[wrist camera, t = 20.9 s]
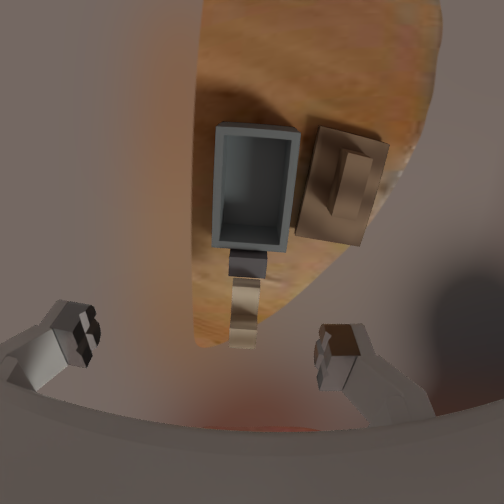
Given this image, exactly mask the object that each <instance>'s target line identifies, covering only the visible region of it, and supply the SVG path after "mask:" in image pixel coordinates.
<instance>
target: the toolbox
mask: <svg viewBox="0 0 504 504" xmlns="http://www.w3.org/2000/svg"><path fill="white" fill-rule="evenodd" d="M300 137H301V133H300V132H299V131H298V130H297V129H296V128H294V127H287V126H277V125H266V124H253V123H238V122H221V123H220V124H218V125H217V126H216V136H215V157H214V181H213V212H212V247H216V248H230V256H229V276H235V277H250V278H264V279H265V276H266V267H267V251H272V252H286V249H287V241H288V234H289V227H290V219H291V212H292V204H293V196H294V188H295V180H296V172H297V163H298V155H299V146H300Z"/></svg>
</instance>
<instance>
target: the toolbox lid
mask: <svg viewBox="0 0 504 504" xmlns="http://www.w3.org/2000/svg"><path fill="white" fill-rule="evenodd" d="M389 146H390V145H389V144H387V143H384V142H380V141H377V140H373V139H370V138H366V137H363V136H359V135H355V134H352V133H348V132H344V131H340V130H336V129H332V128H328V127H323V126H318V131H317V136H316V140H315V145H314V150H313V154H312V159H311V163H310V168H309V172H308V177H307V181H306V185H305V190H304V194H303V198H302V203H301V207H300V211H299V215H298V220H297V224H296V228H295V232H294V233H295V236H300V237H306V238H312V239H318V240H324V241H330V242H336V243H342V244H347V245H354V246H360V244H361V241H362V238H363V235H364V232H365V229H366V226H367V223H368V220H369V217H370V213H371V210H372V207H373V204H374V200H375V197H376V194H377V190H378V187H379V183H380V180H381V176H382V172H383V169H384V165H385V161H386V158H387V154H388V150H389Z"/></svg>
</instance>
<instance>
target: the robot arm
mask: <svg viewBox="0 0 504 504" xmlns="http://www.w3.org/2000/svg"><path fill="white" fill-rule="evenodd" d="M95 316H96V311H95V308H94V307H93V306H92V305H88V304H82V303H77V302H71V301H70V302H69V301H64V300H58V301H56V302H55V304H54V305H53V306H52V308H51V309H50V310H49V312H48V313H47V314H46V316H45V317H44V319H43V320H42V321H41V323H40V324H39V326H38V325H35V326H33V327H31V328H29V329H27V330H25V331H23V332H21V333H20V334H18V335H16V336H14V337H12V338H10V339H9V340H7V341H5V342H3V343H1V344H0V504H504V399H502V400H499V401H495V402H492V403H489V404H486V405H483V406H479V407H475V408H471V409H468V410H464V411H460V412H456V413H451V414H447V415H443V416H438V417H436V416H435V414H434V411H433V408H432V406H431V403H430V401H429V399H428V396H427V394H426V391H425V390H423V389H422V388H421V387H419V386H418V385H417V384H415V383H414V382H413V381H412V380H411V379H409V378H408V377H407V376H405V375H404V374H403V373H402V372H400V371H399V370H398V369H396V368H395V367H394V366H392V365H391V364H390V363H389V362H387V361H386V360H385V359H383V358H382V357H381V356H376V355H375V352H374V349H373V346H372V344H371V341H370V339H369V336H368V334H367V331H366V329H365V326H364V325H363V324H322V325H321V327H320V330H319V336H320V339H319V340H318V341H317V342H316V345H315V350H314V363H315V367H316V368H317V369H318V370H319V371H318V374H317V381H318V386H319V391H342V392H343V393H344V395H345V396H346V397H347V398H348V399H349V400H350V401H351V403H352V404H353V405H354V406H355V407H356V408H357V409H358V410H359V411H360V413H361V414H362V415H363V416H364V417H365V418H366V420H367V421H369V423H370V424H369V426H368V427H367V428H360V429H349V430H335V431H317V432H248V431H230V430H216V429H205V428H196V427H187V426H179V425H172V424H165V423H159V422H152V421H147V420H141V419H136V418H130V417H125V416H121V415H116V414H111V413H107V412H102V411H99V410H94V409H90V408H87V407H83V406H79V405H76V404H72V403H68V402H65V401H61V400H58V399H55V398H52V397H49V396H46V395H43V394H40V393H37V392H36V391H37V390H38V389H40V388H41V387H42V386H43V385H44V384H46V383H47V382H48V381H49V380H51V379H52V378H53V377H54V376H55V375H57V374H58V373H59V372H61V371H62V370H63V369H64V368H66V367H67V366H68V365H72V366H77V367H82V368H87V367H88V364H89V362H90V360H91V358H92V356H93V355H92V350H93V349H95V348H96V347H97V346H98V344H99V342H100V336H101V330H100V325H99V323H98V322H97V321H96V320H95V318H94V317H95Z"/></svg>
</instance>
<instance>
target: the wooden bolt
mask: <svg viewBox="0 0 504 504" xmlns="http://www.w3.org/2000/svg"><path fill="white" fill-rule="evenodd" d="M259 295H260V280H256V279H242V278H233V288H232V308H231V321H230V335H229V347H231V348H246V349H255V344H256V335H257V313H258V304H259Z"/></svg>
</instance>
